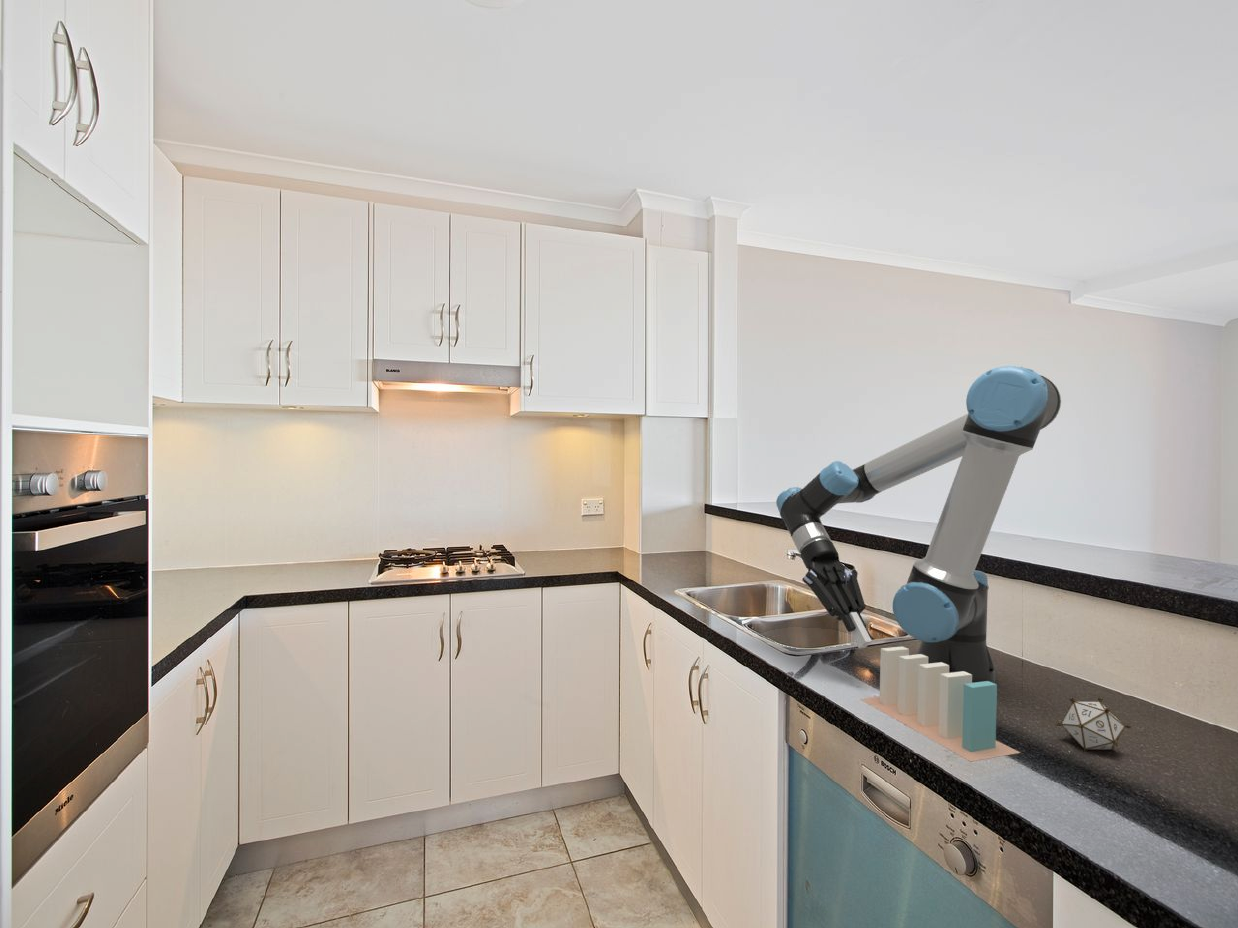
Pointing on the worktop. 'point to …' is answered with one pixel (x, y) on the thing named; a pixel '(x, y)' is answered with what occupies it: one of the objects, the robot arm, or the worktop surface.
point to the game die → (1092, 725)
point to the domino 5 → (979, 716)
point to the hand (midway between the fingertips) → (865, 644)
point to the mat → (933, 734)
